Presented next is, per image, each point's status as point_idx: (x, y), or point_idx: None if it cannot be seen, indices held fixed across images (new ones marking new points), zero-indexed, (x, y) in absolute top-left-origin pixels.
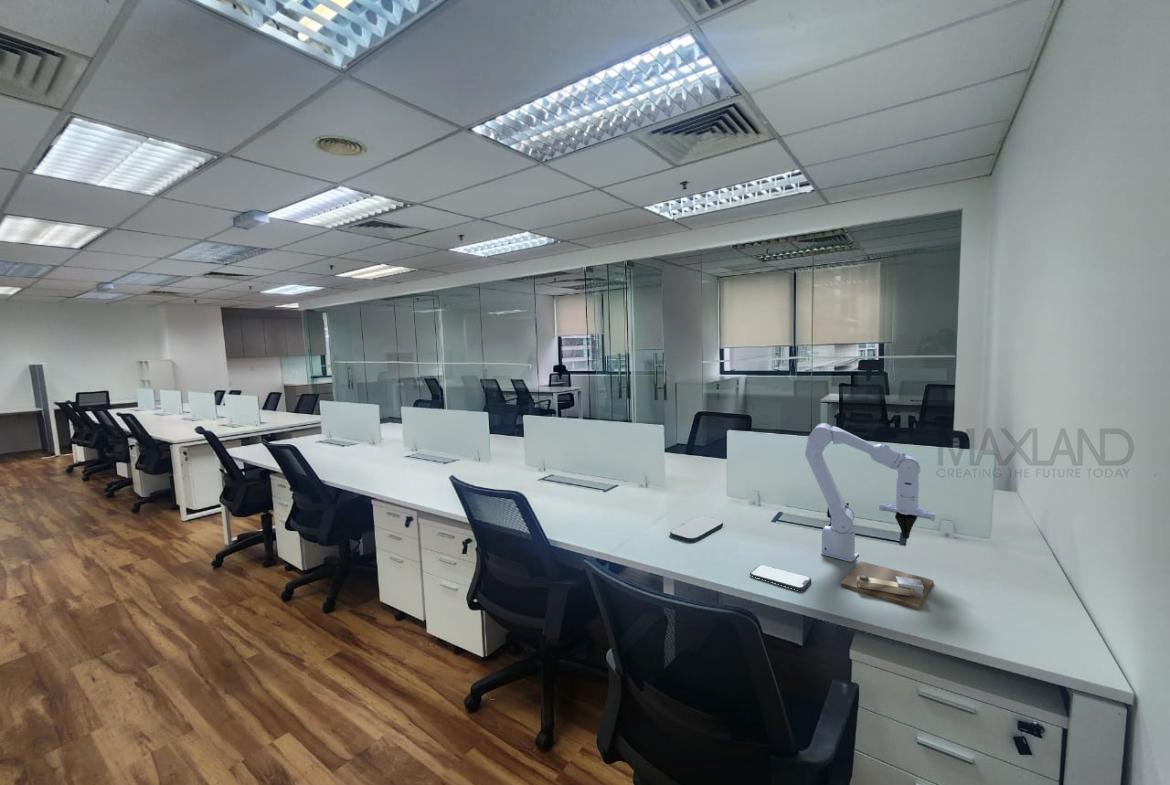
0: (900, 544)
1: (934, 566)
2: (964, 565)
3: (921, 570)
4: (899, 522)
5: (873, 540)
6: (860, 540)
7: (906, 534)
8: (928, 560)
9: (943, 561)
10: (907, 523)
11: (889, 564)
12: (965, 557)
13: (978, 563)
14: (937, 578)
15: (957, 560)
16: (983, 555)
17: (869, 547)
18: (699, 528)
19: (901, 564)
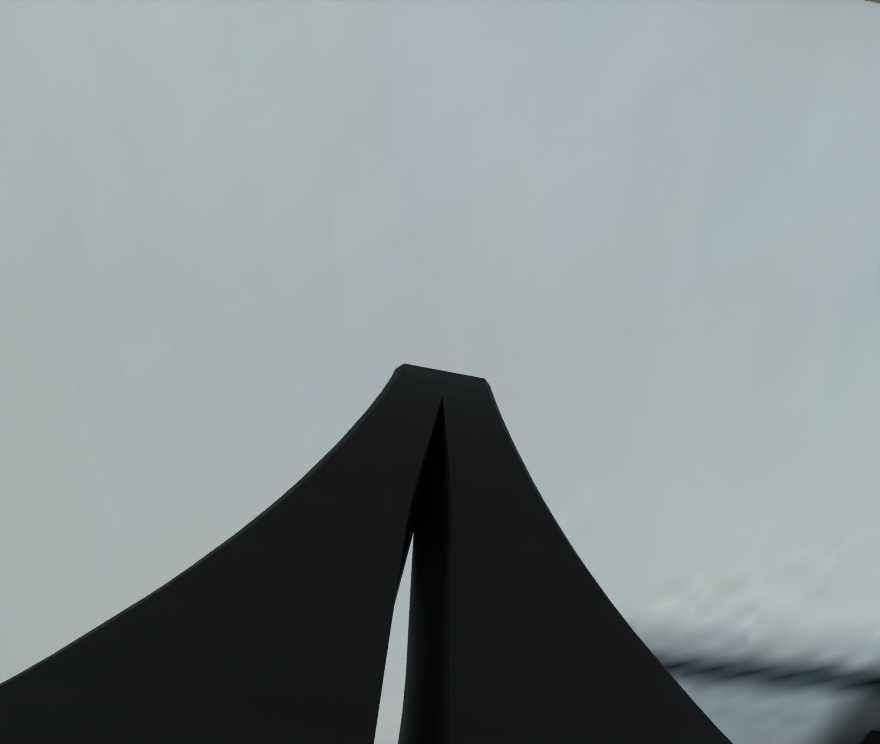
0: None
1: (237, 352)
2: (76, 462)
3: (314, 204)
4: (637, 697)
5: (680, 625)
6: (785, 598)
7: (408, 404)
8: (297, 446)
9: (205, 471)
10: (294, 670)
11: (608, 202)
12: (115, 577)
13: (25, 525)
14: (149, 62)
15: (137, 521)
16: (51, 631)
17: (738, 506)
18: None
19: (493, 262)
